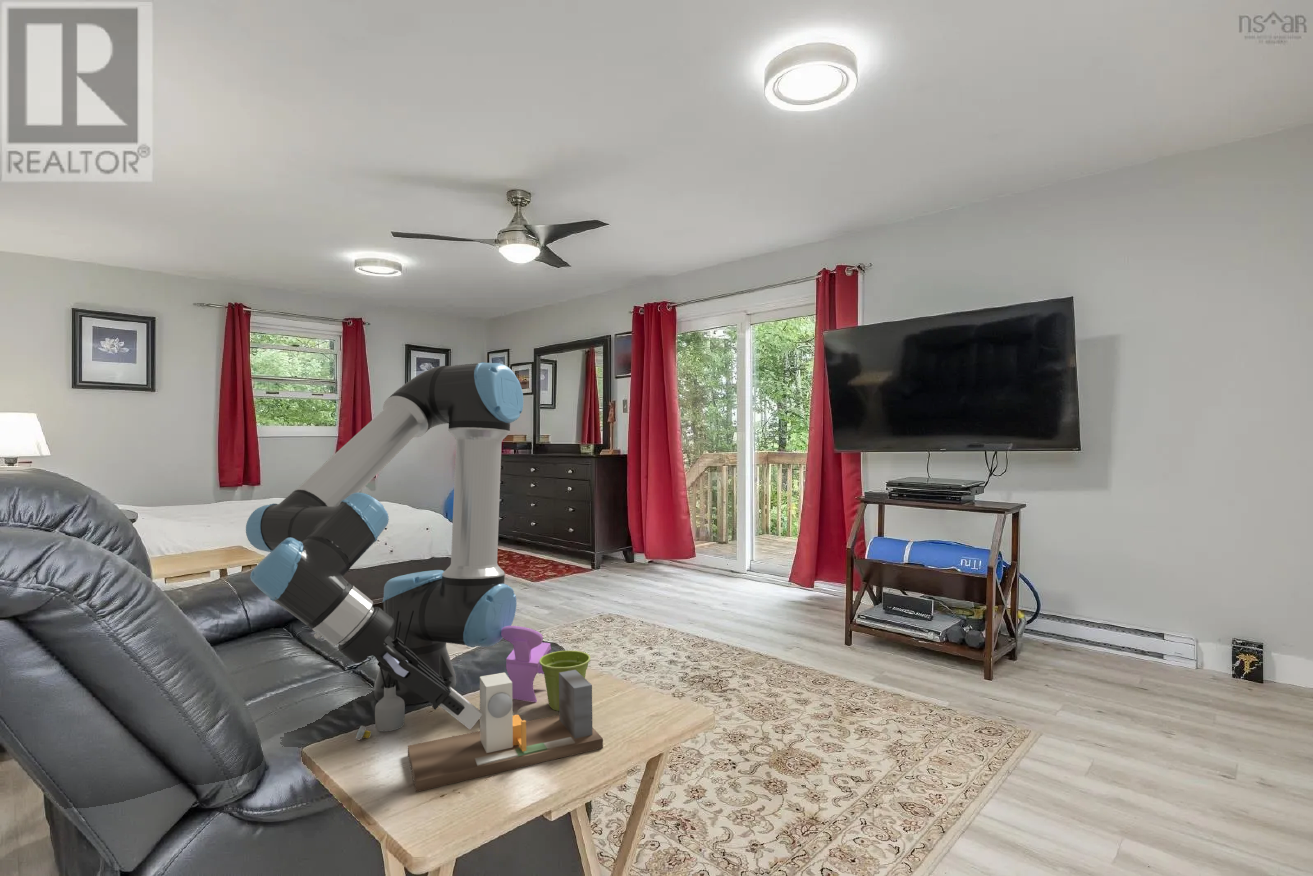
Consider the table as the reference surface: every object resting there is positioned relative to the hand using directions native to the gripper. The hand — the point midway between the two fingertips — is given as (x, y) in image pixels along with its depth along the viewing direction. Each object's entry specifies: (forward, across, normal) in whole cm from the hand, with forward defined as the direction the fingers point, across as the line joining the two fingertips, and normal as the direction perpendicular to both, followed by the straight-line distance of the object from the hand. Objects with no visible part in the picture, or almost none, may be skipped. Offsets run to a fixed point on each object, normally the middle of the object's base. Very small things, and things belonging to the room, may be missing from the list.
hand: (475, 720), depth 98 cm
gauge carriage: (+5, 0, -1) cm, 5 cm away
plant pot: (+18, -14, +9) cm, 24 cm away
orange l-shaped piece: (+8, +1, +1) cm, 8 cm away
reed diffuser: (-3, -16, -12) cm, 21 cm away
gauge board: (+8, 0, -1) cm, 8 cm away
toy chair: (+14, -22, +7) cm, 27 cm away
